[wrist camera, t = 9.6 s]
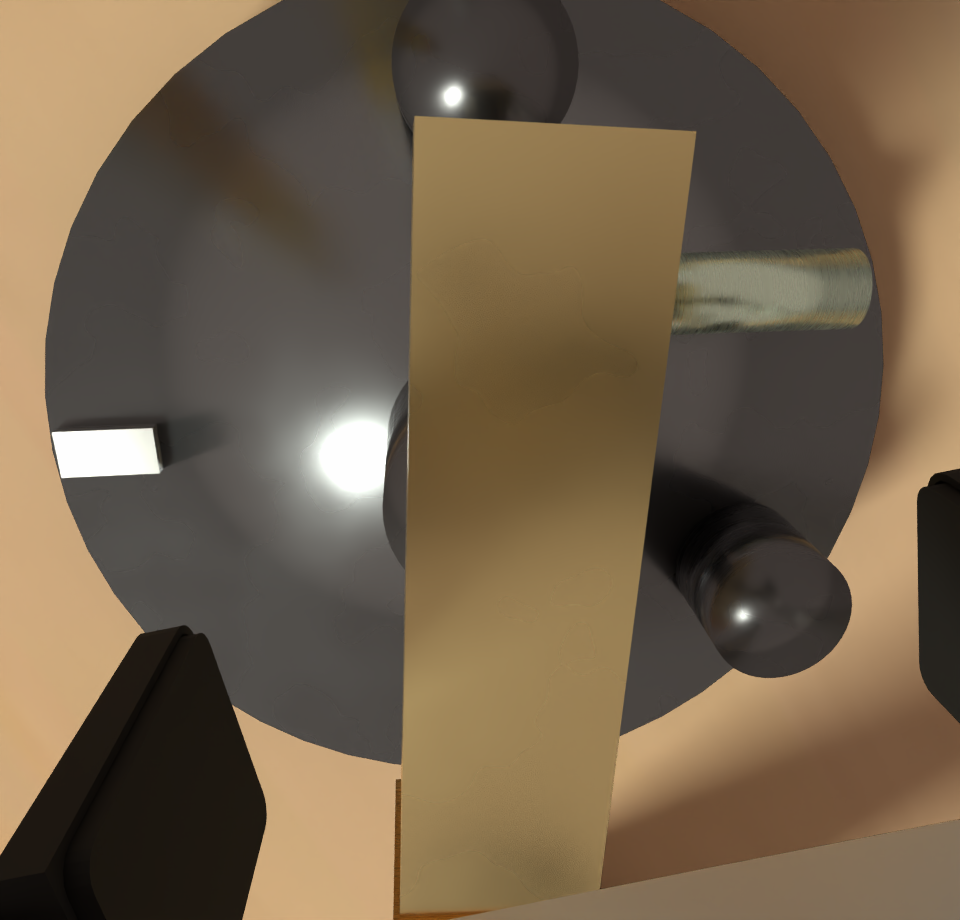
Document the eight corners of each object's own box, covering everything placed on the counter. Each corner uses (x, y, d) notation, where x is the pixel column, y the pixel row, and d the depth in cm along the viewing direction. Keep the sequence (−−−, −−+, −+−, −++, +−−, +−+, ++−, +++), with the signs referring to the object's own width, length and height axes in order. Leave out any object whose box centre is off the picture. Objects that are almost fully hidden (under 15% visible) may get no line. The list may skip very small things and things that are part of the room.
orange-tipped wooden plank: (390, 130, 15) (377, 113, 9) (600, 141, 16) (733, 133, 9) (384, 724, 20) (373, 996, 14) (548, 722, 20) (612, 985, 14)
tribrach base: (892, -23, 17) (1048, -80, 13) (793, 696, 24) (877, 814, 19) (2, -20, 16) (-142, -82, 12) (147, 739, 22) (87, 875, 18)
